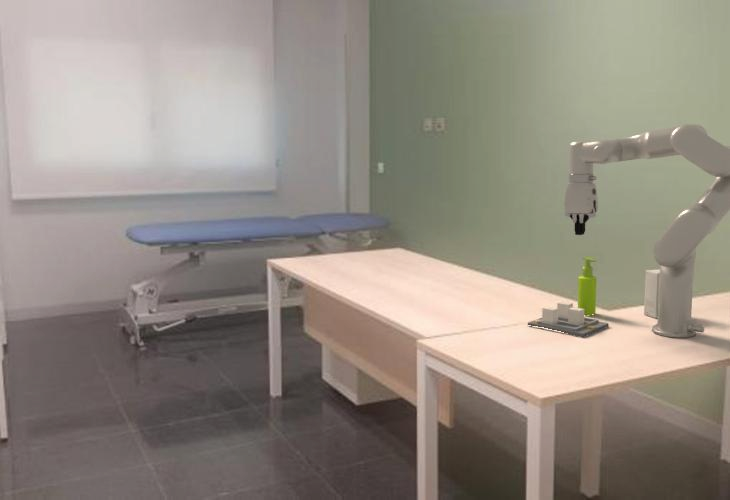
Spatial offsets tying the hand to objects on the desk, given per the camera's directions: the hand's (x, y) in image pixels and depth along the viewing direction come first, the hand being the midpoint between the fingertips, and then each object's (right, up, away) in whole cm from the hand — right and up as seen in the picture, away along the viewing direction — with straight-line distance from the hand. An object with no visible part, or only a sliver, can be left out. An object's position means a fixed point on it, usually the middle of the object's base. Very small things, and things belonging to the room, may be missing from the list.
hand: (579, 234), depth 227 cm
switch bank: (-5, -30, -3) cm, 31 cm away
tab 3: (-3, -29, -6) cm, 30 cm away
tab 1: (-11, -29, -4) cm, 31 cm away
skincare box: (+29, -28, +6) cm, 41 cm away
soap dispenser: (+6, -28, +11) cm, 30 cm away
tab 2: (-4, -28, +2) cm, 28 cm away
